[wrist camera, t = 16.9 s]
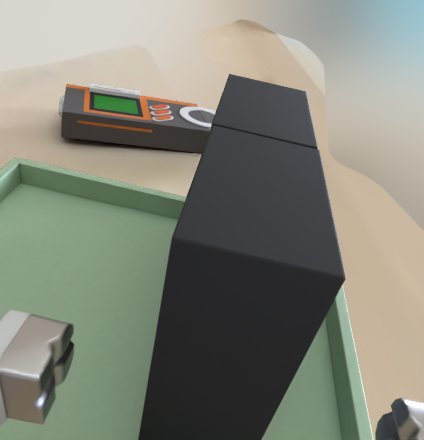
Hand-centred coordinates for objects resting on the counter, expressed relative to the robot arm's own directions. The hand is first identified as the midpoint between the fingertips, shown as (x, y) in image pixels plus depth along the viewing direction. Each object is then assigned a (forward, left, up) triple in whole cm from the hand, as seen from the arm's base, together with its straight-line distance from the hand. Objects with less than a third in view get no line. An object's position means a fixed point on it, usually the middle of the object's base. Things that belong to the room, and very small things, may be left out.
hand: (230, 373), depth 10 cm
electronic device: (-9, +28, -8) cm, 31 cm away
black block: (0, +4, -7) cm, 8 cm away
